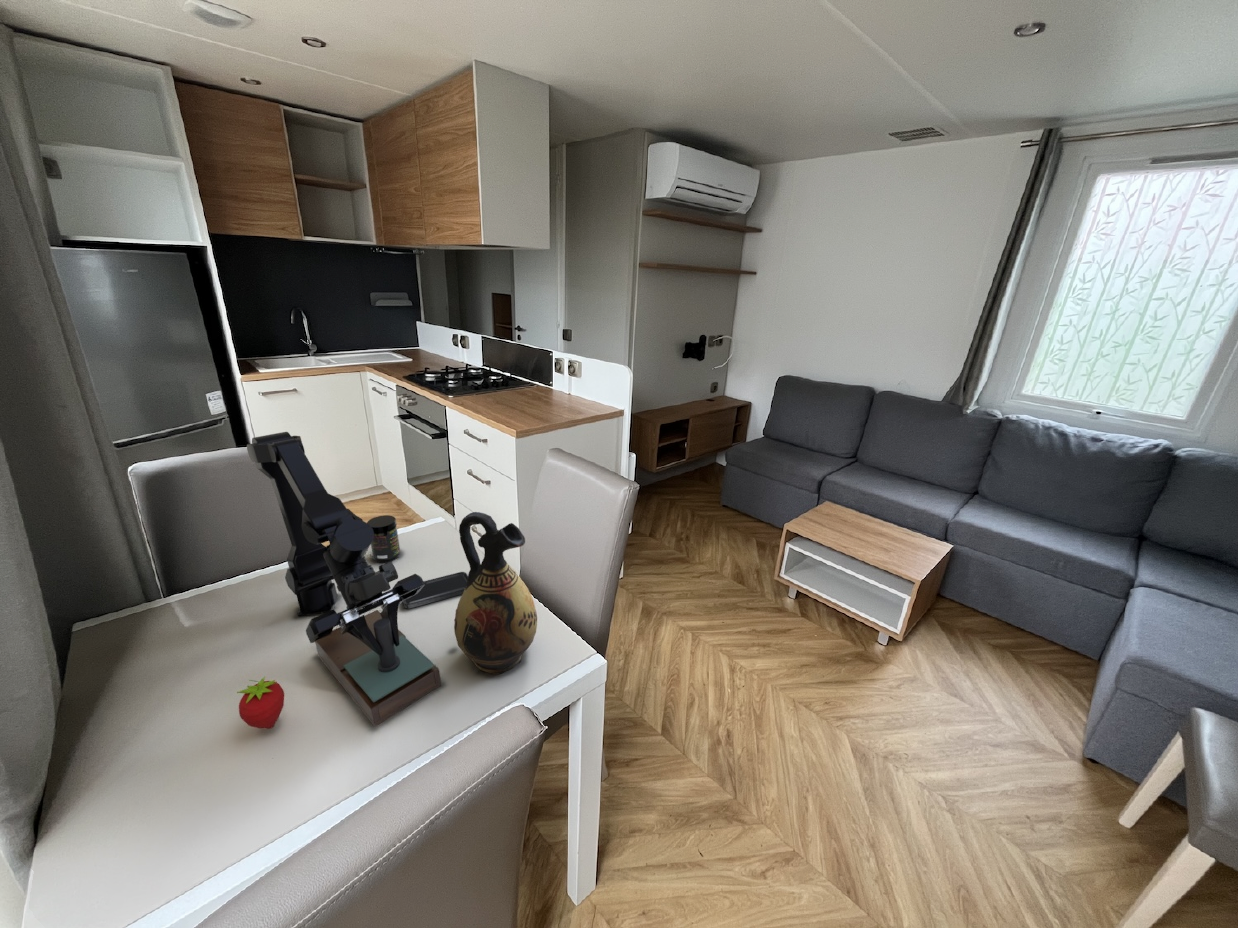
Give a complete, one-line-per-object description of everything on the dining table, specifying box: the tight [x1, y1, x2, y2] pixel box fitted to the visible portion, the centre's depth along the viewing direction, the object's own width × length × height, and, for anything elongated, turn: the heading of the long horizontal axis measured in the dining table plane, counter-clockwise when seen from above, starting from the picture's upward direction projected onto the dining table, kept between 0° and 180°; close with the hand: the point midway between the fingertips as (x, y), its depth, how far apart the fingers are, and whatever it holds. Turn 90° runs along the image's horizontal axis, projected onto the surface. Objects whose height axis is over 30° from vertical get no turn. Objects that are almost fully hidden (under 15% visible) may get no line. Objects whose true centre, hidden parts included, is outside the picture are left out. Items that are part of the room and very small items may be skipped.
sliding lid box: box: [314, 609, 442, 727], centre depth 92 cm, size 24×12×4 cm, turn 49°
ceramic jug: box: [453, 511, 538, 675], centre depth 92 cm, size 17×15×30 cm
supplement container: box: [366, 514, 402, 563], centre depth 128 cm, size 7×7×10 cm
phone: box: [402, 571, 468, 609], centre depth 115 cm, size 8×1×15 cm
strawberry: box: [236, 676, 285, 730], centre depth 78 cm, size 6×8×10 cm
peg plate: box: [344, 618, 436, 702], centre depth 85 cm, size 12×11×9 cm
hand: (389, 650), depth 85 cm, fingers closed on peg plate, 3 cm apart
